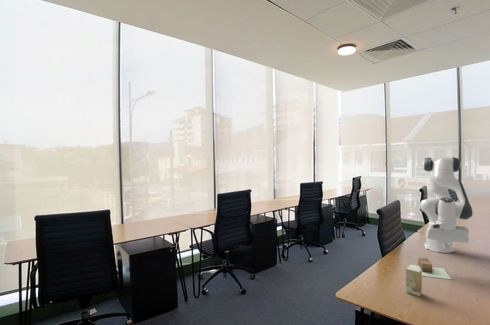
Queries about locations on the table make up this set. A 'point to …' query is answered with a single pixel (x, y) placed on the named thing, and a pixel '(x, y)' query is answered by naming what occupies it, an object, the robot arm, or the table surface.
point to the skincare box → (414, 281)
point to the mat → (434, 272)
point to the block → (425, 265)
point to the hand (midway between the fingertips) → (446, 247)
